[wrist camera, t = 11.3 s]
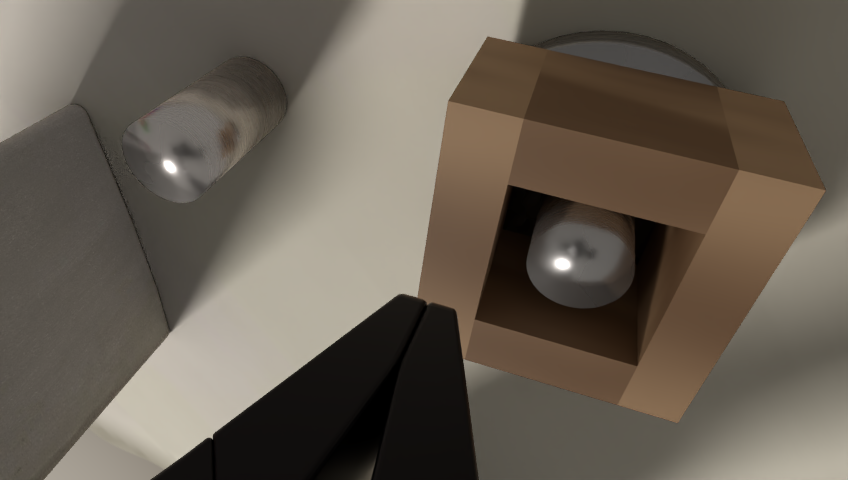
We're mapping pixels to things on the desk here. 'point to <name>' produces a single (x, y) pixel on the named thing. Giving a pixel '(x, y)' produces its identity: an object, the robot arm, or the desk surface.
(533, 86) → the collar
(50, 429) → the grey pentagonal slab
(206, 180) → the stand rod
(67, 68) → the desk surface
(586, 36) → the hub
